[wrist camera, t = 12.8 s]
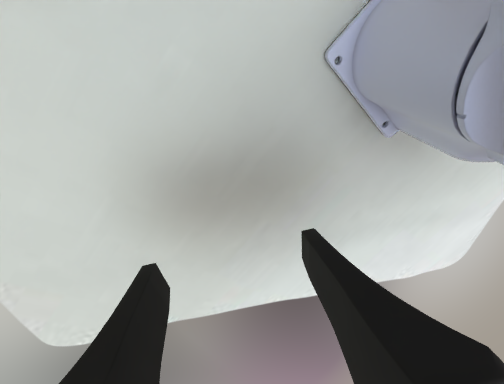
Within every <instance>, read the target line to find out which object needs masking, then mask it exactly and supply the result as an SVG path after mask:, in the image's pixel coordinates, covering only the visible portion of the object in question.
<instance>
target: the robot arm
mask: <svg viewBox="0 0 504 384" xmlns="http://www.w3.org/2000/svg"><path fill="white" fill-rule="evenodd" d="M338 56H339V62H338V63H337V64H335V59H336V57H338ZM325 59H326V61H327V62H328V63H329V65H330V66H331V67H332V69H333V70H334V71H335V73H336V74H337V75H338V77H339V78H340V79H341V80H342V82H343V83H344V84H345V86H346V87H347V88H348V90H349V91H350V92H351V93H352V95H353V96H354V97H355V99H356V100H357V101H358V103H359V104H360V105H361V107H362V108H363V109H364V110H365V112H366V113H367V114H368V116H369V117H370V118H371V120H372V121H373V122H374V123H375V125H376V126H377V127H378V129H379V130H380V131H381V133H382V134H383V135H384V136H386V137H391V136H393V135H394V134H395V133H396V132H398V131H399V130H400V131H402V132H404V133H406V134H408V135H410V136H412V137H414V138H416V139H418V140H420V141H422V142H424V143H426V144H428V145H430V146H432V147H434V148H436V149H438V150H440V151H442V152H444V153H446V154H448V155H450V156H452V157H454V158H457V159H460V160H464V161H471V162H495V161H496V162H499V163H501V164H503V165H504V0H370V1H369V3H368V4H367V5H366V6H365V7H364V8H363V9H362V11H361V12H360V13H359V14H358V15H357V16H356V17H355V18H354V20H353V21H352V22H351V23H350V24H349V25H348V26H347V28H346V29H345V30H344V31H343V32H342V33H341V34H340V35H339V37H338V38H337V39H336V40H335V41H334V42H333V43H332V45H331V46H330V47H329V48H328V49H327V51H326V53H325ZM384 122H385V124H384V125H383V123H384ZM382 125H383V126H382ZM302 259H303V262H304V265H305V268H306V271H307V273H308V276H309V278H310V281H311V283H312V285H313V287H314V289H315V291H316V293H317V295H318V297H319V299H320V301H321V303H322V305H323V307H324V309H325V311H326V313H327V315H328V318H329V320H330V322H331V324H332V326H333V328H334V331H335V334H336V336H337V339H338V341H339V344H340V346H341V349H342V352H343V355H344V357H345V360H346V363H347V365H348V368H349V371H350V374H351V376H352V379H353V382H354V384H504V363H503V362H502V361H501V360H500V358H499V357H498V356H496V355H495V354H494V353H493V352H492V351H491V350H490V349H489V347H487V346H485V345H483V344H481V343H479V342H477V341H475V340H473V339H471V338H469V337H467V336H465V335H463V334H461V333H459V332H457V331H455V330H453V329H451V328H449V327H447V326H446V325H444V324H442V323H440V322H438V321H436V320H435V319H433V318H431V317H429V316H428V315H426V314H424V313H423V312H420V311H419V310H418V309H416V308H414V307H412V306H411V305H409V304H407V303H406V302H404V301H403V300H401V299H399V298H398V297H396V296H395V295H393V294H392V293H390V292H389V291H387V290H386V289H384V288H383V287H382V286H380V285H379V284H377V283H376V282H375V281H373V280H372V279H371V278H369V277H368V276H367V275H365V274H364V273H363V272H362V271H360V270H359V269H358V268H357V267H355V266H354V265H353V264H352V263H351V262H349V261H348V260H347V259H346V258H345V257H344V256H343V255H341V254H340V253H339V252H338V251H337V250H336V249H335V248H334V247H333V246H332V245H330V244H329V243H328V242H327V241H326V240H325V239H324V238H323V237H322V236H321V235H320V234H319V233H318V232H317V231H316V230H315V229H314V228H313V229H308V230H304V231H302ZM169 304H170V287H169V285H168V284H167V282H166V280H165V279H164V277H163V275H162V273H161V272H160V270H159V268H158V266H157V265H156V263H154V264H149V265H144V266H142V268H141V269H140V271H139V272H138V274H137V276H136V277H135V279H134V280H133V282H132V284H131V285H130V287H129V289H128V290H127V292H126V293H125V295H124V297H123V298H122V300H121V301H120V303H119V304H118V306H117V307H116V309H115V311H114V312H113V314H112V315H111V317H110V318H109V320H108V321H107V322H106V324H105V325H104V327H103V328H102V330H101V331H100V332H99V334H98V335H97V337H96V338H95V339H94V341H93V342H92V343H91V345H90V346H89V347H88V349H87V350H86V351H85V353H84V354H83V355H82V356H81V358H80V359H79V360H78V362H77V363H76V364H75V365H74V367H73V368H72V369H71V370H70V371H69V372H68V374H67V375H66V376H65V377H64V378H63V379H62V381H61V382H60V383H59V384H159V381H160V380H159V379H160V369H161V360H162V354H163V348H164V341H165V335H166V328H167V322H168V315H169Z"/></svg>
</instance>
